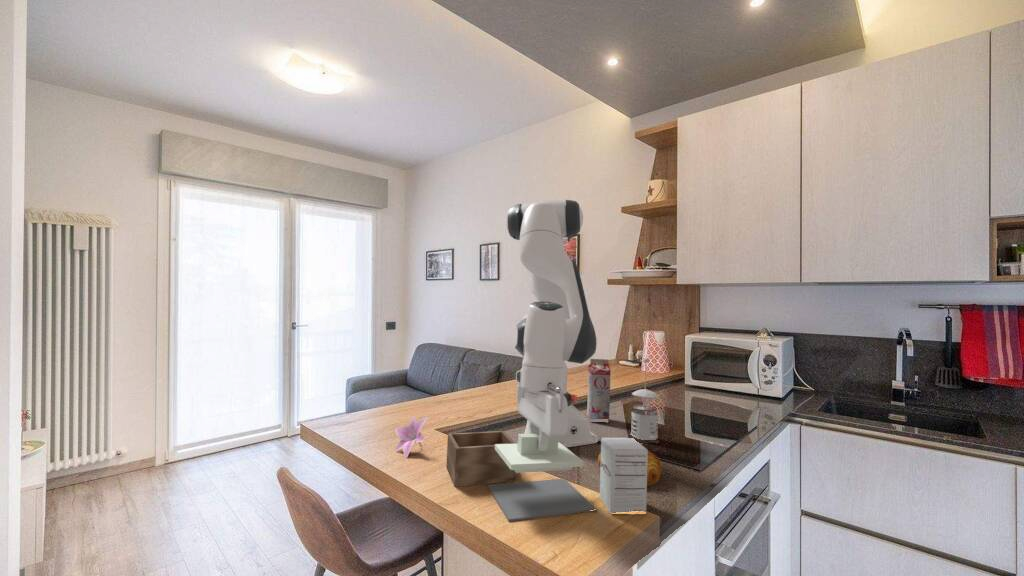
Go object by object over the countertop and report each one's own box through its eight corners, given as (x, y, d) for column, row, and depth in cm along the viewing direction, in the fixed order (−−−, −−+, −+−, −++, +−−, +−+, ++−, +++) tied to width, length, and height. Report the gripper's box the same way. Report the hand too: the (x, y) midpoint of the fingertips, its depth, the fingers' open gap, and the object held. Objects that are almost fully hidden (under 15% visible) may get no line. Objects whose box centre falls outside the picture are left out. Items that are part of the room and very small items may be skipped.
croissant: (630, 501, 91) (634, 466, 90) (586, 466, 105) (589, 436, 104) (676, 489, 98) (680, 456, 97) (629, 457, 111) (632, 428, 111)
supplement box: (598, 498, 87) (600, 436, 88) (633, 498, 87) (634, 437, 88) (609, 515, 80) (611, 448, 80) (647, 515, 80) (648, 448, 81)
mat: (564, 480, 95) (564, 478, 95) (596, 510, 81) (596, 508, 81) (488, 487, 90) (488, 485, 90) (508, 521, 76) (508, 519, 76)
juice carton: (609, 423, 147) (610, 360, 148) (590, 422, 147) (592, 359, 148) (605, 418, 154) (606, 358, 155) (587, 417, 154) (588, 357, 155)
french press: (626, 441, 127) (628, 358, 128) (630, 431, 138) (632, 355, 139) (660, 446, 123) (661, 361, 125) (661, 435, 134) (663, 357, 136)
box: (502, 463, 104) (503, 430, 105) (515, 480, 94) (517, 444, 94) (446, 467, 100) (447, 433, 101) (454, 486, 90) (455, 448, 90)
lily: (395, 447, 116) (384, 423, 113) (432, 430, 119) (422, 405, 116) (401, 473, 106) (390, 448, 103) (441, 454, 110) (432, 428, 106)
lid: (558, 452, 94) (560, 426, 94) (583, 472, 82) (584, 443, 82) (494, 454, 89) (496, 427, 90) (510, 476, 78) (512, 445, 78)
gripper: (578, 388, 78) (574, 464, 77) (539, 372, 97) (535, 432, 96) (547, 388, 76) (542, 465, 75) (513, 371, 96) (509, 433, 95)
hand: (538, 446), depth 86 cm, fingers closed on lid, 2 cm apart
